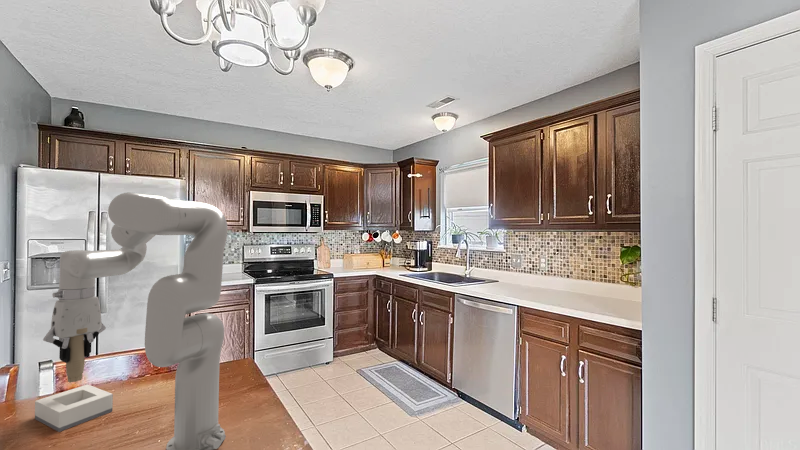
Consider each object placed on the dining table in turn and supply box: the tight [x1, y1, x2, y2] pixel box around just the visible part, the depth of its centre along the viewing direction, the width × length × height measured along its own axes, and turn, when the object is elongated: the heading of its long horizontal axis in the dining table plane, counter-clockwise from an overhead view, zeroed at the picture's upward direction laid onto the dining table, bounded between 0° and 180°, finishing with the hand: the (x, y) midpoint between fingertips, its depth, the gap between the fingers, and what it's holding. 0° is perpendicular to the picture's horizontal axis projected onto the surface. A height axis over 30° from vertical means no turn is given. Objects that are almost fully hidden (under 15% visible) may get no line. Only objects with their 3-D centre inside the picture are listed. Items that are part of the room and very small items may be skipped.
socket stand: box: [34, 383, 114, 433], centre depth 103 cm, size 14×12×5 cm
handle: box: [65, 328, 87, 383], centre depth 103 cm, size 5×6×15 cm
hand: (75, 358), depth 103 cm, fingers closed on handle, 3 cm apart
